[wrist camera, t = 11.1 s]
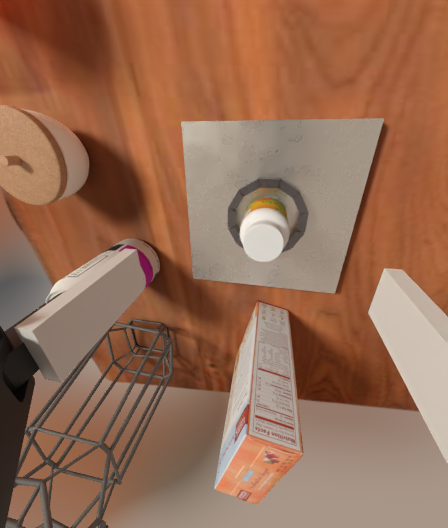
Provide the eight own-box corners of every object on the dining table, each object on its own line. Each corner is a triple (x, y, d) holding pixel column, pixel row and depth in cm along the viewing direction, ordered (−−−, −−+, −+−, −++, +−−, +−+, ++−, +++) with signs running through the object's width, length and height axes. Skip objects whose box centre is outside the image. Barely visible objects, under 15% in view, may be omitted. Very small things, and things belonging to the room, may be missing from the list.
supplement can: (160, 240, 37) (97, 293, 24) (162, 282, 41) (110, 348, 28) (114, 233, 38) (30, 280, 25) (121, 275, 42) (52, 334, 29)
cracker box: (265, 361, 45) (258, 508, 27) (236, 351, 45) (210, 490, 27) (292, 309, 38) (307, 460, 20) (257, 298, 38) (241, 437, 20)
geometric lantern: (111, 300, 46) (-210, 613, 15) (186, 312, 44) (-5, 702, 13) (122, 354, 53) (-77, 639, 22) (188, 367, 51) (67, 698, 20)
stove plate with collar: (379, 119, 24) (391, 116, 22) (333, 289, 35) (337, 300, 32) (184, 122, 28) (176, 120, 26) (195, 274, 39) (190, 283, 36)
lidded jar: (37, 97, 30) (-50, 80, 22) (110, 136, 31) (51, 134, 23) (36, 173, 36) (-35, 182, 28) (98, 206, 36) (47, 224, 28)
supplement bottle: (294, 207, 29) (303, 233, 21) (273, 241, 32) (273, 277, 23) (257, 188, 29) (251, 206, 21) (239, 224, 32) (226, 254, 23)
